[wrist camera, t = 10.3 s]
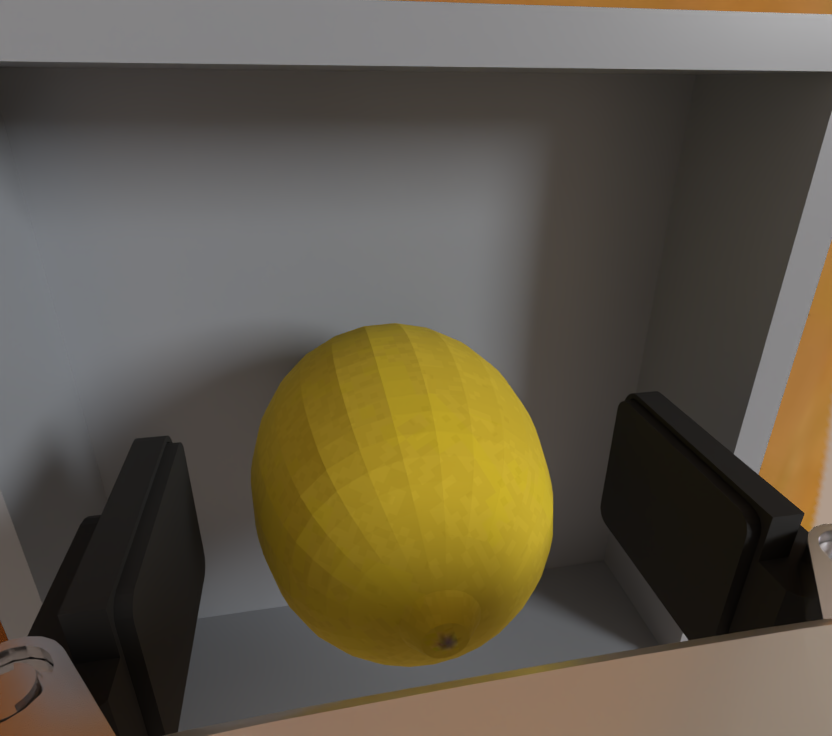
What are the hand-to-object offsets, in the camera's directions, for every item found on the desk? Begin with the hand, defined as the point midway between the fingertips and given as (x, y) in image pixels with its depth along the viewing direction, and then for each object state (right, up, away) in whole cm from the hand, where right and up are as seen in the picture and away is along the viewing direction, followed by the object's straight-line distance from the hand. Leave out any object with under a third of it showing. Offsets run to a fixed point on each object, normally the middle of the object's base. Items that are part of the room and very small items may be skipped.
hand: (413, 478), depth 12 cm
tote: (-1, +2, +5) cm, 5 cm away
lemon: (-1, +2, +4) cm, 4 cm away
